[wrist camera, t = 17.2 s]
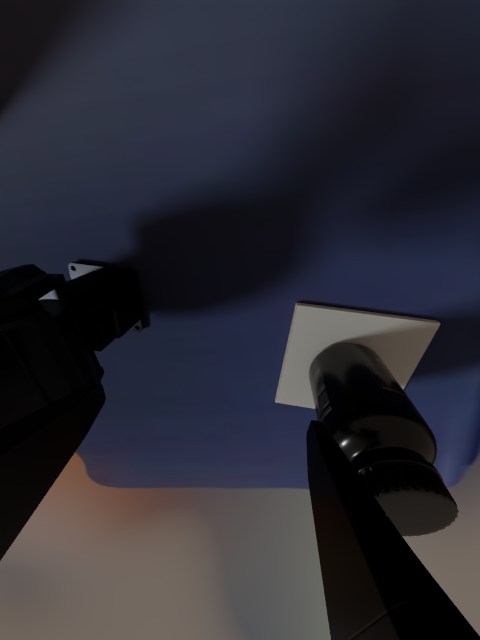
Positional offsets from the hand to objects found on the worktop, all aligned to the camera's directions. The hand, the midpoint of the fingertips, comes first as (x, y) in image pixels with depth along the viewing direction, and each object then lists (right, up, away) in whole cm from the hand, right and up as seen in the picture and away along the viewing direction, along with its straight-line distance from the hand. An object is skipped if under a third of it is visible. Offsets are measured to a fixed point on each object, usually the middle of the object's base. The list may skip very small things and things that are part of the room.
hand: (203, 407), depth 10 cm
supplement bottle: (+12, -1, +13) cm, 18 cm away
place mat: (+12, -1, +13) cm, 18 cm away
